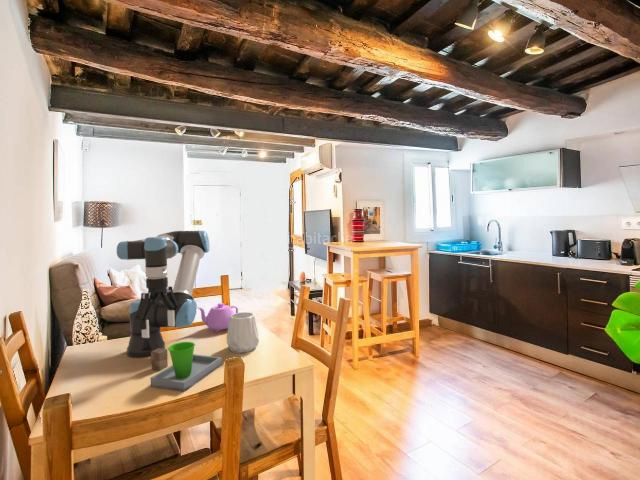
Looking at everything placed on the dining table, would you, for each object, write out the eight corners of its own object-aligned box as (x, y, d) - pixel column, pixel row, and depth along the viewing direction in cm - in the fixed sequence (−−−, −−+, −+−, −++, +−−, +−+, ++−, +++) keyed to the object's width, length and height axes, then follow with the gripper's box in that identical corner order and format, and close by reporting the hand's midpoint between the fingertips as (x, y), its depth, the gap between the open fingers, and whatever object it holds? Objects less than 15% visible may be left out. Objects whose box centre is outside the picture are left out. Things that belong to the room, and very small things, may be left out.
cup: (201, 370, 127) (199, 341, 127) (188, 382, 118) (187, 351, 118) (178, 369, 129) (177, 341, 128) (164, 381, 120) (162, 350, 119)
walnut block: (151, 369, 131) (151, 351, 131) (159, 365, 135) (158, 348, 135) (160, 370, 130) (159, 352, 130) (167, 366, 134) (167, 349, 134)
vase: (229, 356, 143) (228, 321, 142) (224, 345, 156) (223, 313, 155) (262, 351, 149) (261, 317, 148) (254, 341, 162) (254, 309, 161)
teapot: (201, 337, 168) (200, 310, 167) (194, 329, 181) (193, 303, 180) (244, 329, 179) (243, 303, 179) (234, 322, 192) (234, 298, 192)
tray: (150, 386, 118) (150, 377, 118) (192, 361, 139) (191, 353, 139) (184, 391, 114) (184, 382, 114) (222, 365, 135) (221, 357, 135)
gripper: (139, 283, 118) (141, 343, 119) (186, 272, 142) (188, 322, 143) (121, 282, 120) (124, 341, 121) (171, 271, 144) (173, 321, 145)
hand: (159, 331), depth 132 cm, fingers open, 13 cm apart
